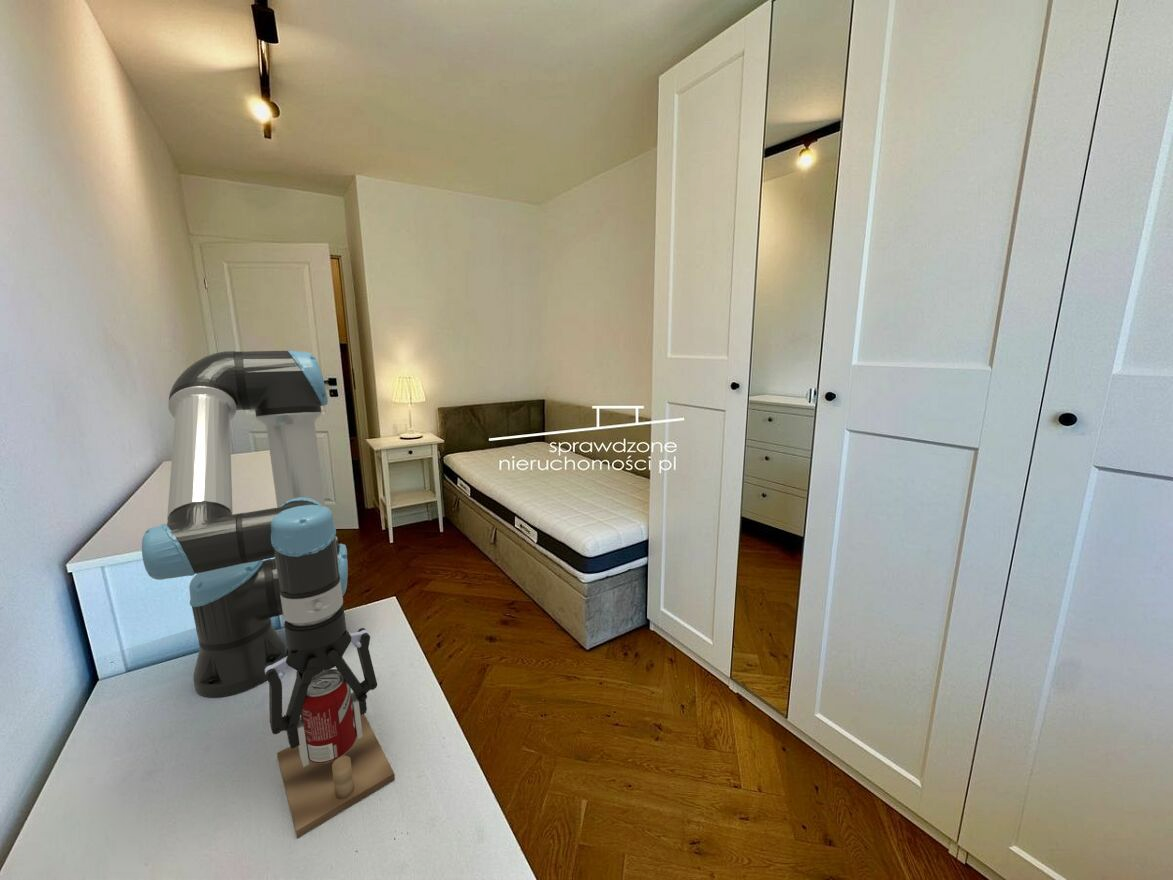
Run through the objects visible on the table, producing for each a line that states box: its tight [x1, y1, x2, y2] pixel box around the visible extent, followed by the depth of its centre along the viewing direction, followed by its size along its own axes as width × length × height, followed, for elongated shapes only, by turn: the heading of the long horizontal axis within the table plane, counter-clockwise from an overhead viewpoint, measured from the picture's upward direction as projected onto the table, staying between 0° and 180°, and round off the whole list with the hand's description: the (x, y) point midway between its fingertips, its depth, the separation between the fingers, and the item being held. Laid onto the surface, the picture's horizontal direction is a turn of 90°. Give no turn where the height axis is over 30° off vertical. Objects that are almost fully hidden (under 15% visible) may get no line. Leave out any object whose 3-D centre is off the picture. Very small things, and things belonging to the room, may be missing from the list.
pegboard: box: [276, 713, 396, 839], centre depth 72 cm, size 16×13×6 cm
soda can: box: [300, 668, 356, 764], centre depth 70 cm, size 7×7×12 cm
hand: (331, 745), depth 71 cm, fingers closed on soda can, 7 cm apart
